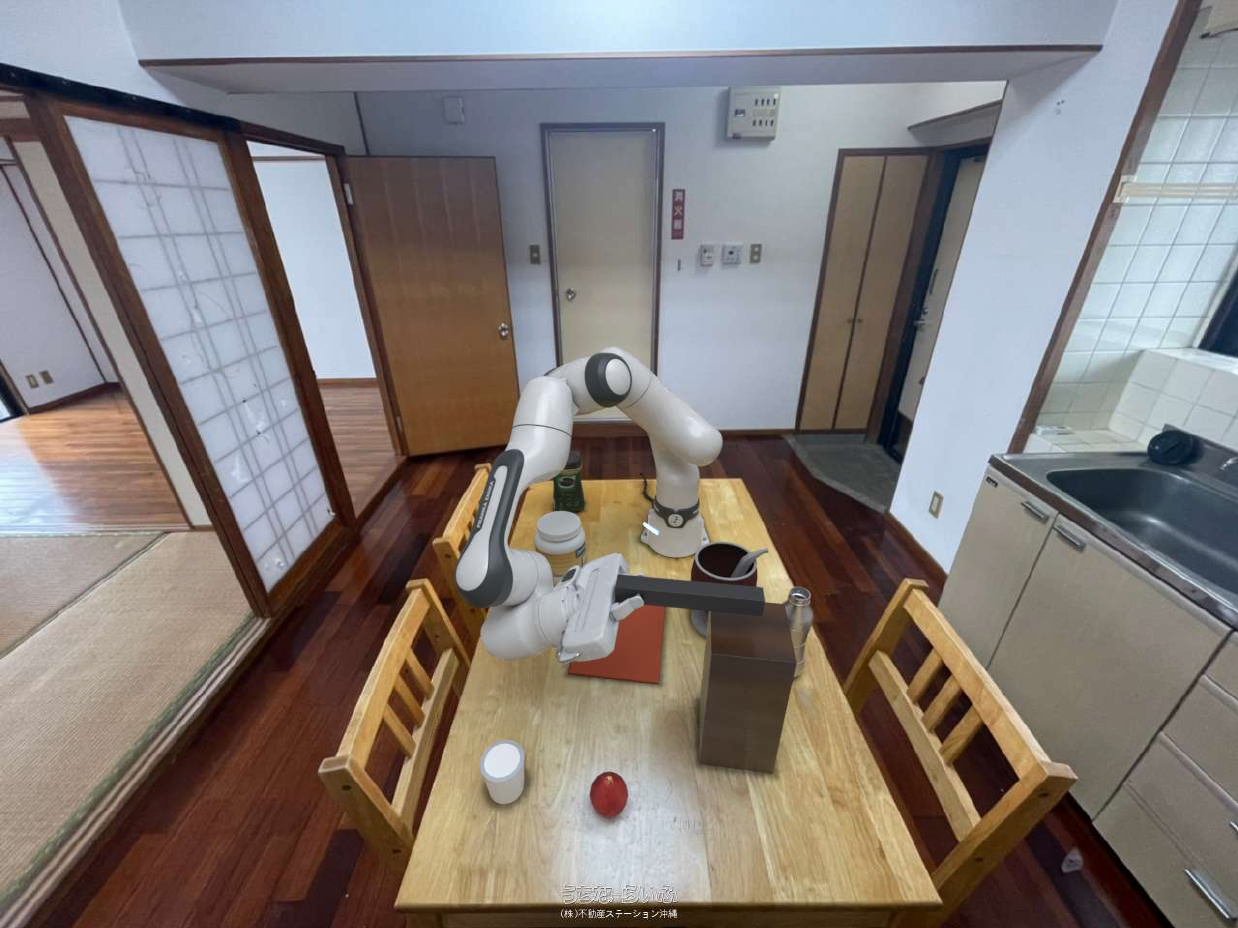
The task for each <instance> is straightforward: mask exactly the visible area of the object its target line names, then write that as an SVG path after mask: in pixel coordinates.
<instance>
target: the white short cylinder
mask: <svg viewBox="0 0 1238 928" xmlns="http://www.w3.org/2000/svg"><path fill="white" fill-rule="evenodd" d="M479 770H480V773H481V776H482V778H483V780H484V783H485V786H486V788H487V791H488V793H489V796H490V798H491V799H492V801H493V802H495V803H496V804H499V805H509V804H512V803H513V802H515V801H517V800H518V799H519V797H520V796H521V795H522V793H523V791H524V788H525V752H524V749H523V747H522V746H521V745H520V744H519V743H517V741H514V740H510V739H502V740H498V741H496V742H494V743H492V744H490V745H489V746H488V747H487V748H486V749H485V750H484V752H483V754H482V756H481V757H480V763H479Z"/></svg>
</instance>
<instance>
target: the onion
mask: <svg viewBox="0 0 1238 928" xmlns="http://www.w3.org/2000/svg"><path fill="white" fill-rule="evenodd" d="M628 797H629V791H628V786H627V782H625V780H624V779H623V777H622V776H621V775H620V774H619V773H617V772H614V771H604V772H602V773H600V774H598V775H597V776H596V777H595V779H594V780H593V781H592V783H591V785H590V791H589V799H590V804H591V806H592V808H593V810H594V811H595V813H597V814H598V815H599V816H601V817H606V818H614V817H616V816H618V815H619V814H620V813H622V812H623V811H624V809H625V808H626V806H627V802H628Z"/></svg>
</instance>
